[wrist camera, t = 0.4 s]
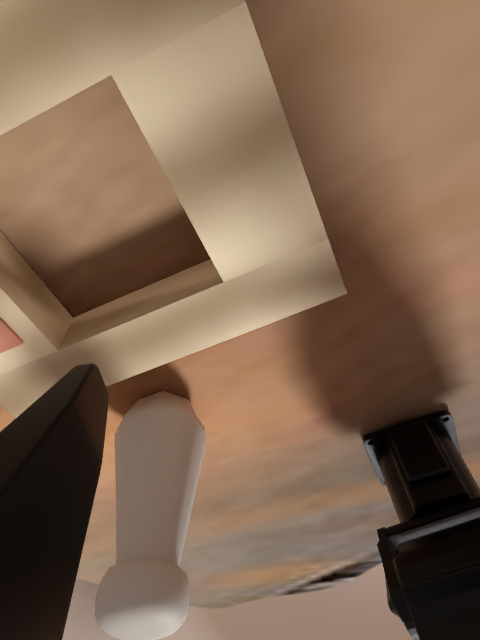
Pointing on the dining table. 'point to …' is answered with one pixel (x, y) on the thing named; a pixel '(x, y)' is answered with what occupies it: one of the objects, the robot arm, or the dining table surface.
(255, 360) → the dining table surface
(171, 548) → the salt shaker
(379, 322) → the dining table surface
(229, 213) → the maple frame
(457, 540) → the robot arm
